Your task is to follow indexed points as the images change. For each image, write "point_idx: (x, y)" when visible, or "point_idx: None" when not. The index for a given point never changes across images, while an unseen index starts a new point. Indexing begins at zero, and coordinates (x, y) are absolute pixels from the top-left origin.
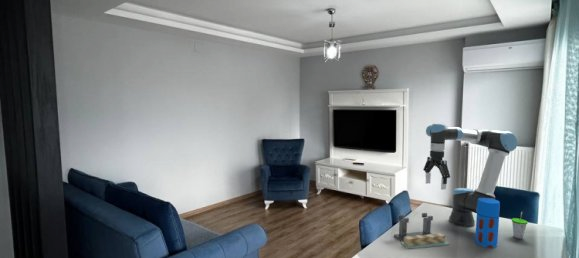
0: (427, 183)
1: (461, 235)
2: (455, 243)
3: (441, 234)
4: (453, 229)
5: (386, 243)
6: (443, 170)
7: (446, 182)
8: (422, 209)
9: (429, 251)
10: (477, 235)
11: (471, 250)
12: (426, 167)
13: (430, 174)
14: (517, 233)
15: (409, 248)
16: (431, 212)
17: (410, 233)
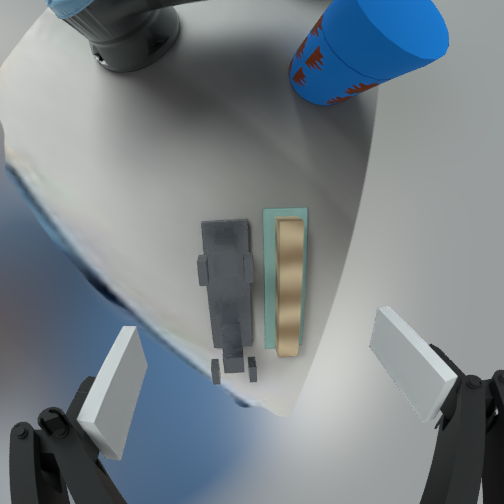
0: (143, 355)
1: (244, 104)
2: (302, 177)
3: (291, 229)
4: (185, 97)
5: (257, 376)
6: (485, 477)
7: (442, 356)
8: (9, 120)
9: (329, 296)
10: (327, 99)
11: (355, 165)
12: (62, 500)
13: (103, 405)
14: None
15: (301, 339)
16: (33, 98)
17: (213, 297)
